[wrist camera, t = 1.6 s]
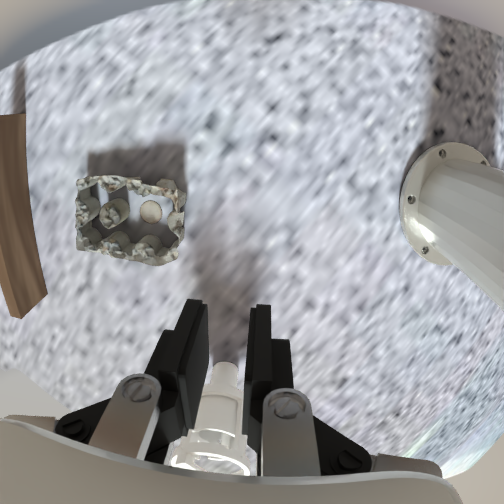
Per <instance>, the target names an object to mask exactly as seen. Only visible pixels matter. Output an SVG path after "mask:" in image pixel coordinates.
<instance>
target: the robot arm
mask: <svg viewBox="0 0 504 504" xmlns="http://www.w3.org/2000/svg"><path fill="white" fill-rule="evenodd" d="M439 152H440V154H439ZM409 196H410V198H409V199H408V197H409ZM399 213H400V221H401V226H402V229H403V233H404V235H405V237H406V239H407V241H408V243H409V245H410V246H411V247H412V248H413V250H414V251H415V252H416V253H417V254H418V255H419V256H420V257H422V258H423V259H425V260H426V261H428V262H430V263H433V264H436V265H445V266H447V265H455V266H456V267H457V268H458V269H459V270H460V271H461V272H462V273H464V274H465V275H466V276H467V277H468V278H469V279H470V280H471V281H472V282H473V283H474V284H476V285H477V286H478V287H479V288H480V289H481V290H482V291H483V292H484V293H485V294H486V295H487V296H488V297H489V298H490V299H491V300H492V301H493V302H494V303H495V304H496V305H497V306H498V307H499V308H500V309H501V310H502V311H503V312H504V170H501V169H497V168H494V167H491V166H490V164H489V162H488V161H487V160H486V158H485V157H484V156H483V155H482V154H481V153H480V152H479V151H477V150H476V149H475V148H473V147H471V146H469V145H467V144H463V143H458V142H445V143H440V144H437V145H435V146H433V147H431V148H429V149H428V150H426V151H425V152H424V153H423V154H421V155H420V156H419V157H418V159H417V160H416V161H415V162H414V164H413V165H412V167H411V168H410V170H409V172H408V174H407V176H406V178H405V181H404V184H403V187H402V191H401V197H400V210H399ZM208 364H209V340H208V310H207V304H203V303H202V300H195V299H187V301H186V303H185V305H184V308H183V310H182V312H181V315H180V317H179V319H178V322H177V324H176V327H175V329H174V330H166V329H165V330H164V331H163V333H162V335H161V337H160V339H159V341H158V343H157V346H156V348H155V350H154V352H153V354H152V357H151V359H150V361H149V363H148V366H147V368H146V370H145V372H144V374H132V375H130V376H127V377H126V378H124V379H123V380H121V382H120V383H119V384H118V386H117V388H116V390H115V392H114V394H113V396H112V398H109V399H106V400H104V401H101V402H99V403H96V404H94V405H91V406H88V407H86V408H83V409H80V410H77V411H75V412H72V413H69V414H67V415H65V416H63V417H62V418H61V419H60V420H57V419H56V418H55V417H43V416H41V417H40V416H24V415H9V416H7V417H5V418H0V504H463V503H462V500H461V498H460V496H459V494H458V493H457V491H456V489H455V488H454V487H453V486H452V485H451V484H450V483H449V482H448V481H447V480H445V479H443V478H442V471H441V469H440V467H439V466H438V465H437V464H436V463H434V462H432V461H428V460H421V459H413V458H405V457H398V456H392V455H386V454H380V453H378V454H377V456H375V455H370V454H369V453H368V451H366V450H365V449H364V448H363V447H361V446H360V445H358V444H356V443H355V442H353V441H352V440H350V439H348V438H347V437H345V436H344V435H342V434H341V433H339V432H338V431H336V430H334V429H333V428H331V427H330V426H328V425H327V424H325V423H324V422H322V421H321V420H319V419H318V418H316V417H315V416H313V415H312V408H311V403H310V401H309V399H308V398H307V396H306V395H305V394H303V393H302V392H300V391H298V390H295V389H294V386H293V373H292V362H291V350H290V341H289V339H271V305H262V304H257V306H256V308H251V310H250V322H249V333H248V345H247V356H246V367H245V380H244V397H243V416H242V435H248V438H247V445H248V446H249V447H251V448H252V449H253V450H254V451H255V452H256V476H246V475H233V474H222V473H213V472H205V471H197V470H191V469H184V468H178V467H173V466H168V464H169V461H170V457H171V453H172V450H173V446H174V441H175V440H177V439H179V438H181V436H185V437H187V435H188V431H189V429H194V427H195V423H196V418H197V414H198V409H199V404H200V400H201V395H202V391H203V387H204V382H205V378H206V373H207V369H208Z"/></svg>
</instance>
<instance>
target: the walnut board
mask: <svg viewBox="0 0 504 504" xmlns="http://www.w3.org/2000/svg"><path fill="white" fill-rule="evenodd" d="M0 284H1V288H2V291H3V294H4V297H5V300H6V303H7V306H8V309H9V312H10V315H11V316H12V317H16V318H20V319H22V318H23V317H24V316H25V315H26V314H27V313H28V312H29V311H30V310H31V309H32V308H33V307H34V306H35V305H36V304H37V303H38V302H40V301H41V300H42V299H43V298H44V297H45V296H46V295H47V294H48V293H47V289H46V285H45V281H44V277H43V273H42V269H41V264H40V260H39V255H38V250H37V244H36V239H35V233H34V227H33V221H32V214H31V206H30V198H29V188H28V177H27V162H26V113H25V114H10V115H0Z"/></svg>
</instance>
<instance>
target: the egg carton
mask: <svg viewBox="0 0 504 504" xmlns="http://www.w3.org/2000/svg"><path fill="white" fill-rule="evenodd" d="M97 182H98V183H99V184H100V186H101V188H103V189H104V190H106V191H107V192H108V193H112V192H114V191H116V190H118V189H120V188H122V187H124V186H125V185H126V186H127V188H128V190H129V191H131V190H133V191H134V192H135V193H136V194H137V195H142V196H143V197H145V196H147V195H149V194H150V193H151V194H154V195H159V196H165V197H168V198H170V199H172V200H173V202H174V207H175V209H174V210H173V211H172V212H171V213H170V214H169V216H168V218H167V224H168V226H169V229H170V230H171V231H172V232H173V233H174V234H176V236H178V237H179V239H178V240H176V241H175V242H174V243H173V245H172V246H171V247H170V248H164V247H162V243H161V241H160V239H159V238H158V237H156V236H154V235H150V234H149V235H145V236H144V237H143V238H142V239H141V240H140V241H139V242H138V243H136V244H133V243H131V242H130V239H129V237H128V235H127V234H126V233H124V232H122V231H115V232H114V233H113V234H111V235H110V236H109V237H107V238H105V239H102V237H101V234H100V232H99V231H98V230H97V229H95V228H93V227H92V219H93V218H95V217H96V216H97V215H98V214H99V213H100V215H99V219H100V221H101V223H102V225H103V226H104V227H106V228H107V229H111V228H113V227H115V226H117V225H118V224H120V223H121V222H123V221H124V220H125V219H126V218H127V217H128V216H129V213H130V207H129V204H128V203H127V202H126V201H125V200H124V199H122V198H115V199H113V200H111V201H110V202H108V203H105V204H104V205H103V206H102V208H101V206H100V203H99V201H98V199H97V198H95V197H93V196H91V186H93V185H95V184H96V183H97ZM142 182H143V181H141V178H140V177H127V178H124V177H120V176H112V175H101V176H94V177H90V176H88V177H86V178H84V179H78V180H77V182H76V185H77V187H78V195H77V198H76V200H75V203H76V206H77V209H76V225H75V228H76V229H77V237H76V248H77V250H81V251H88V252H99V253H102V254H103V255H106V254H108V255H110V256H111V257H112V258H122V259H126V260H131V261H138V262H142V263H145V264H148V265H152V266H161V265H164V264H166V263H169V262H171V261H173V260H176V259H177V258H178V250H177V247H178V246H179V244H180V243H181V241H182V240H183V238H184V231H185V229H184V228H183V227H182V226H183V220H184V212H180V208H181V207H182V206H183V205H184V204H185V203H186V193H185V192H183V191H181V190H179V189H178V188H177V186H176V184H175V181H174V180H172V179H161V180H160V181H158V182H157V184H156V185H155V186H150V185H147V184H143V183H142ZM140 215H141V217H142V219H143V220H144V221H145V222H148V223H150V224H154V223H157V222H158V221H159V220H160V219H161V217H162V209H161V207H160V205H159V204H158V203H157V202H155V201H146V202H145V203H143V204H142V206H141V208H140Z"/></svg>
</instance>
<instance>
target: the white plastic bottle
mask: <svg viewBox="0 0 504 504" xmlns="http://www.w3.org/2000/svg"><path fill="white" fill-rule="evenodd" d="M237 380H238V368H237V367H236V366H235V365H234V364H232V363H230V362H218V363H216V364H215V365H214V367H213V371H212V376H211V381H210V384H205V385H204V387H203V391H202V395H201V400H200V404H199V409H198V414H197V418H196V423H195V427H194V429H189V431H188V435H187V437H185V436H182V438H181V443H180V445H179V446H178V447H176V448H175V450H174V452H173V456H172V460H171V464H172V466H173V467H178V468H184V469H191V470H197V471H205V472H208V471H207V470H205V469H203V468H201V467H200V466H198V465H196V464H194V460H195V459H197V460H200V457H201V455H207V456H208V458H207V459H212V460H229V461H232V462H234V463H236V464H237V465H239V466H240V467H241V468H242V469H241V470H240V471H237V472H235V473H230V474H233V475H246V476H249V475H250V460H249V458H248V457H247V456H246V441H247V435H242V416H243V397H244V392H243V391H241V390H239V389H237ZM220 439H221V443H219V440H220Z"/></svg>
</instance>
